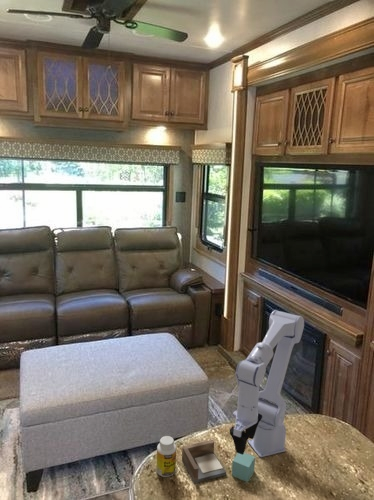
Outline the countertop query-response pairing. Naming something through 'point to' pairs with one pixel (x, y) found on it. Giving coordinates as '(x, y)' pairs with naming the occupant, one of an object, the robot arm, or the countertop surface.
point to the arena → (202, 461)
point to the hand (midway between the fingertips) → (244, 445)
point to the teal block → (243, 466)
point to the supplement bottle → (166, 457)
